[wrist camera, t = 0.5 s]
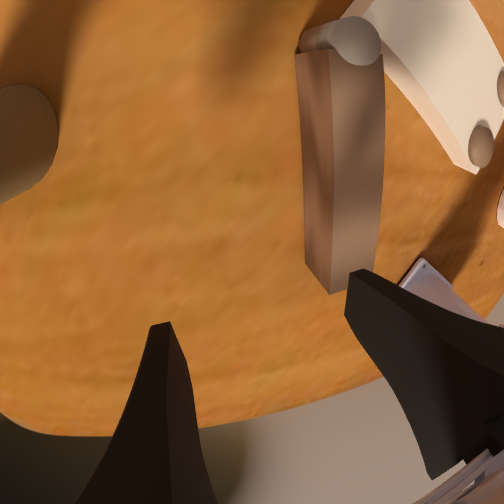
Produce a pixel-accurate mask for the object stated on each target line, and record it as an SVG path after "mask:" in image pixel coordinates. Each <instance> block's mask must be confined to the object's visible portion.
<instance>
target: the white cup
mask: <svg viewBox="0 0 504 504" xmlns="http://www.w3.org/2000/svg"><path fill="white" fill-rule="evenodd" d="M497 221H498V224H499V225H500V226H501V227H502V228H504V189H503V191H502V193H501V196H500V200H499V204H498V209H497Z"/></svg>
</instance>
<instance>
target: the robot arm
mask: <svg viewBox="0 0 504 504" xmlns="http://www.w3.org/2000/svg"><path fill="white" fill-rule="evenodd" d="M452 289H453V286H452V285H451V284H450V283H449V282H448V281H447V280H446V279H445V278H444V277H443V276H442V275H441V274H440V273H439V272H438V271H437V270H436V269H435V268H434V267H432V266H431V265H430V264H429V263H428V262H427V261H426V260H425V259H424V258H420V259H418V260H417V262H416V263H415V265H414V266H413V267H412V269H411V270H410V271H409V273H408V274H407V275H406V276H405V278H404V279H403V280H402V282H401V283H400V284H399V285H396V284H394V283H392V282H390V281H388V280H386V279H385V278H383V277H381V276H379V275H377V274H375V273H373V272H371V271H369V270H366V269H364V268H363V269H360V270H357V271H354V272H350V273H349V281H348V289H347V297H346V305H345V313H344V315H345V317H346V319H347V321H348V323H349V325H350V327H351V329H352V331H353V333H354V334H355V336H356V338H357V339H358V341H359V342H360V344H361V345H362V346H363V348H364V349H365V351H366V352H367V353H368V355H369V356H370V358H371V359H372V360H373V362H374V363H375V365H376V366H377V367H378V369H379V370H380V372H381V373H382V374H383V376H384V377H385V378H386V380H387V381H388V383H389V385H390V386H391V388H392V389H393V391H394V393H395V395H396V397H397V399H398V401H399V403H400V404H401V406H402V408H403V410H404V412H405V414H406V417H407V419H408V421H409V423H410V425H411V428H412V430H413V433H414V435H415V437H416V440H417V442H418V445H419V448H420V451H421V454H422V457H423V460H424V463H425V467H426V471H427V473H428V475H429V477H430V478H431V480H434V479H435V478H437V477H438V476H440V475H441V474H443V473H444V472H446V471H447V470H449V469H450V468H452V467H453V466H455V465H456V464H458V463H459V462H460V461H461V460H464V461H465V463H466V466H464V467H463V468H462V469H461V470H460V471H458V472H457V473H456V474H454V475H453V476H452V477H451V478H449V479H448V480H447V481H445V482H444V483H442V484H441V485H440V486H438V487H437V488H435V489H434V490H433V491H431V492H430V493H428V494H427V495H425V496H424V497H422V498H421V499H419V500H418V501H416V502H414V503H413V504H445V503H446V502H447V503H446V504H504V325H502V324H500V325H499V326H498V327H497V326H493V325H490V324H487V323H486V322H485V321H484V320H483V319H482V318H481V317H480V316H479V315H478V314H477V313H476V312H475V311H474V310H473V309H472V308H471V307H470V306H469V305H468V304H467V303H466V302H465V301H464V300H463V299H462V298H461V297H459V296H458V295H457V294H456V293H455V292H454V291H453V290H452ZM474 480H475V483H474V484H473V485H471V486H469V487H468V488H466V489H465V490H463V489H464V488H465V487H466V486H468V485H469V484H470V483H471V482H472V481H474ZM462 490H463V491H462ZM459 492H460V493H459ZM73 504H217V501H216V498H215V495H214V492H213V489H212V486H211V483H210V480H209V476H208V473H207V469H206V466H205V462H204V459H203V455H202V450H201V446H200V439H199V432H198V425H197V418H196V411H195V403H194V395H193V388H192V383H191V379H190V374H189V370H188V366H187V361H186V359H185V356H184V354H183V352H182V349H181V347H180V345H179V342H178V340H177V338H176V335H175V333H174V330H173V328H172V325H171V323H170V321H169V322H165V323H161V324H156V325H152V326H151V327H150V329H149V333H148V337H147V341H146V345H145V349H144V352H143V356H142V359H141V362H140V366H139V369H138V372H137V375H136V378H135V381H134V384H133V387H132V390H131V392H130V395H129V398H128V401H127V403H126V406H125V409H124V411H123V414H122V416H121V419H120V421H119V423H118V426H117V428H116V430H115V432H114V434H113V437H112V439H111V441H110V443H109V445H108V447H107V449H106V451H105V453H104V455H103V457H102V458H101V460H100V462H99V464H98V466H97V468H96V469H95V471H94V473H93V474H92V476H91V477H90V479H89V481H88V482H87V484H86V485H85V487H84V489H83V490H82V492H81V493H80V495H79V496H78V498H77V499H76V500H75V502H74V503H73Z"/></svg>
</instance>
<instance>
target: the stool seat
mask: <svg viewBox="0 0 504 504" xmlns="http://www.w3.org/2000/svg"><path fill="white" fill-rule="evenodd" d="M350 16H358V17H362V18H364V19H366V20H368V21H369V22H370V23H371V24H372V25H373V26H374V27H375V28H376V30H377V32H378V34H379V36H380V40H381V52H380V54H383V64H384V72H385V73H386V75H387V76H388V77H389V78H390V79H391V80H392V81H393V82H394V84H395V85H396V86H397V87H398V88H399V89H400V91H401V92H402V93H403V94H404V95H405V97H406V98H407V99H408V100H409V101H410V103H411V104H412V105H413V106H414V108H415V109H416V110H417V112H418V113H419V114H420V116H421V117H422V118H423V119H424V121H425V122H426V124H427V125H428V126H429V128H430V129H431V130H432V132H433V133H434V135H435V136H436V138H437V139H438V140H439V142H440V143H441V145H442V146H443V148H444V149H445V151H446V153H447V154H448V156H449V157H450V159H451V160H452V162H453V164H454V165H456V166H459V167H461V168H463V169H465V170H467V171H469V172H471V173H474V174H477V173H478V171H479V169H480V168H484V167H486V166H487V165H488V163H489V162H490V160H491V157H492V154H493V150H494V139H495V137H496V135H497V133H498V131H499V129H500V127H501V124H502V122H503V120H504V63H503V61H502V58H501V56H500V54H499V52H498V50H497V48H496V46H495V44H494V42H493V40H492V38H491V36H490V35H489V33H488V31H487V29H486V27H485V26H484V24H483V22H482V20H481V19H480V17H479V15H478V14H477V12H476V10H475V9H474V7H473V6H472V4H471V3H470V1H469V0H354V1H353V2H352V4H351V5H350V6H349V7H348V9H347V10H346V11H345V12H344V13H343V15H342V16H341V17H340V18H339V19H342V18H346V17H350Z"/></svg>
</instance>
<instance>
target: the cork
mask: <svg viewBox="0 0 504 504" xmlns="http://www.w3.org/2000/svg"><path fill="white" fill-rule="evenodd" d="M58 132H59V128H58V123H57V118H56V112H55V110H54V109H53V107H52V105H51V103H50V101H49V99H48V98H47V97H46V96H45V95H44V94H43V93H42V92H41V91H40V90H39V89H37V88H35V87H32V86H29V85H26V84H16V85H9V86H6V87H3V88H0V205H1V204H2V203H4V202H6V201H8V200H9V199H11V198H13V197H15V196H17V195H19V194H20V193H22V192H24V191H26V190H28V189H30V188H32V187H33V186H34V185H35V184H36V183H38V182H39V181H40V180H41V179H42V178H43V177H44V176H45V174H46V172H47V171H48V169H49V168H50V166H51V165H52V162H53V159H54V156H55V153H56V150H57V146H58Z"/></svg>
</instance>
